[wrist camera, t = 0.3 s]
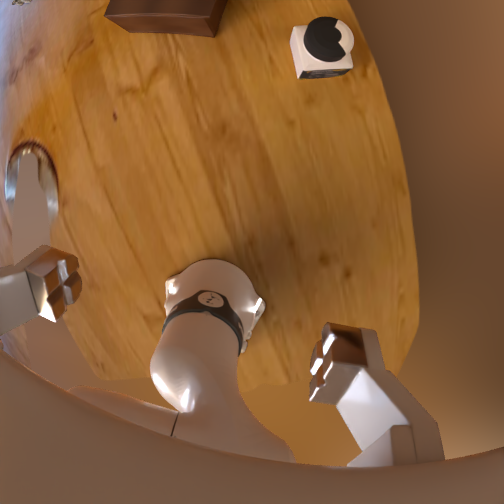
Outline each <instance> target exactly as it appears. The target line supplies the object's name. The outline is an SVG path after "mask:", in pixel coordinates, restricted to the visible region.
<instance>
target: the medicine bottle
mask: <svg viewBox="0 0 504 504" xmlns="http://www.w3.org/2000/svg"><path fill="white" fill-rule="evenodd" d="M353 45H354V37H353V34H352V32H351V30H350V28H349V27H348V26H347V25H346V24H345V23H343V22H342V21H340V20H338V19H336V18H332V17H319V18H316V19H314V20H313V21H311V22H310V23H309V25H305V26H295V27H293V31H292V35H291V38H290V46H291V50H292V55H293V59H294V64H295V68H296V73H297V78H298V79H299V80H304V79H316V78H330V77H341V76H342V75H344V74H345V73H346V72H348V71H349V70H350V69H352V68H353V63H352V58H351V54H350V51H351V50H352V48H353Z"/></svg>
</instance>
